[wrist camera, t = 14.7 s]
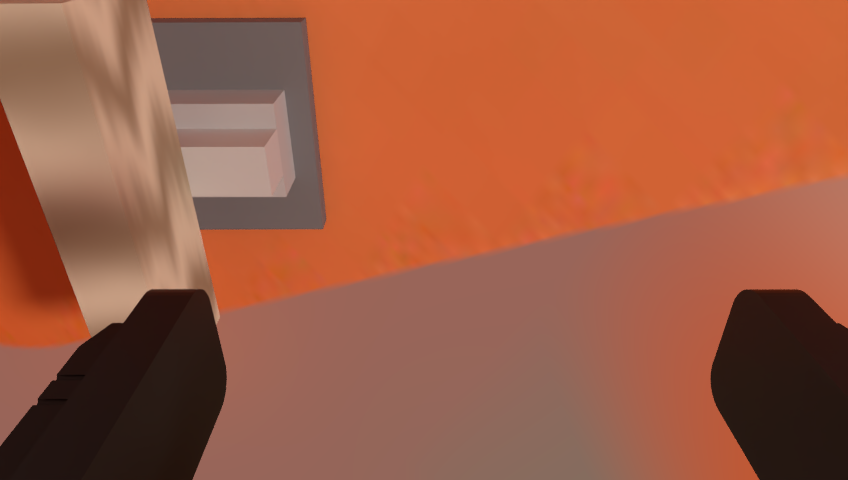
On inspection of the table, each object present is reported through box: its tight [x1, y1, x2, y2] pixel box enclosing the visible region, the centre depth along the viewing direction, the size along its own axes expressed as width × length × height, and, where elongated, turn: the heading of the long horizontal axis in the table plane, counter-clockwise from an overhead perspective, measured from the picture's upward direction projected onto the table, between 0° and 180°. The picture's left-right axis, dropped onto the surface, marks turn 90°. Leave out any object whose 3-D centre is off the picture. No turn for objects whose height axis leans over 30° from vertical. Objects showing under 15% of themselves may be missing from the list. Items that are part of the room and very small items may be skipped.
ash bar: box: [0, 0, 220, 337], centre depth 29 cm, size 20×4×7 cm, turn 0°
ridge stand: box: [151, 18, 326, 229], centre depth 35 cm, size 14×16×8 cm
